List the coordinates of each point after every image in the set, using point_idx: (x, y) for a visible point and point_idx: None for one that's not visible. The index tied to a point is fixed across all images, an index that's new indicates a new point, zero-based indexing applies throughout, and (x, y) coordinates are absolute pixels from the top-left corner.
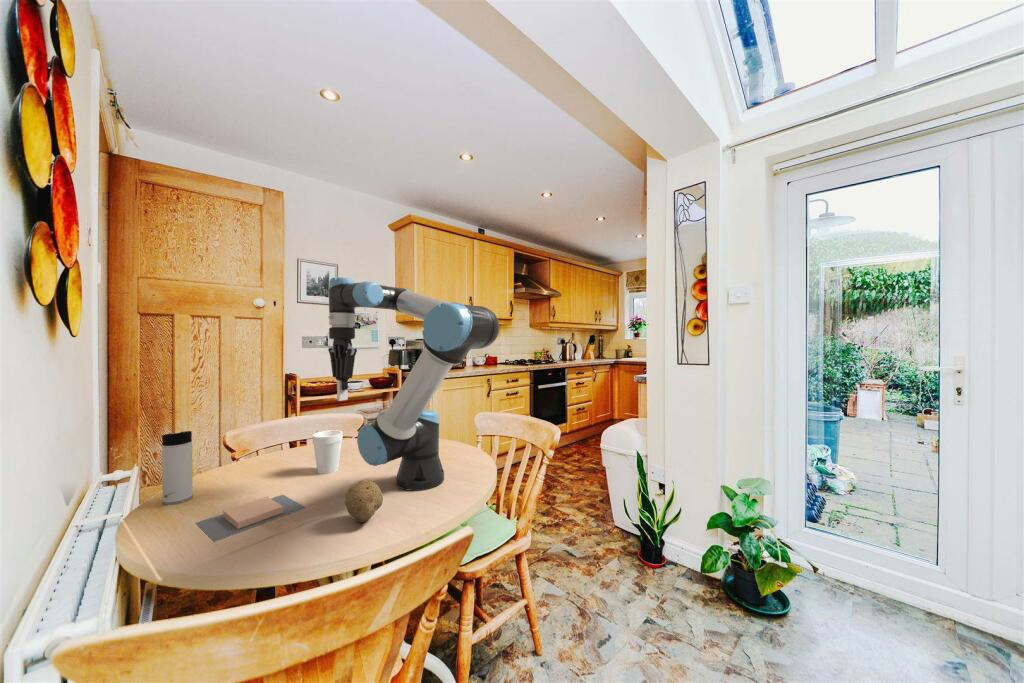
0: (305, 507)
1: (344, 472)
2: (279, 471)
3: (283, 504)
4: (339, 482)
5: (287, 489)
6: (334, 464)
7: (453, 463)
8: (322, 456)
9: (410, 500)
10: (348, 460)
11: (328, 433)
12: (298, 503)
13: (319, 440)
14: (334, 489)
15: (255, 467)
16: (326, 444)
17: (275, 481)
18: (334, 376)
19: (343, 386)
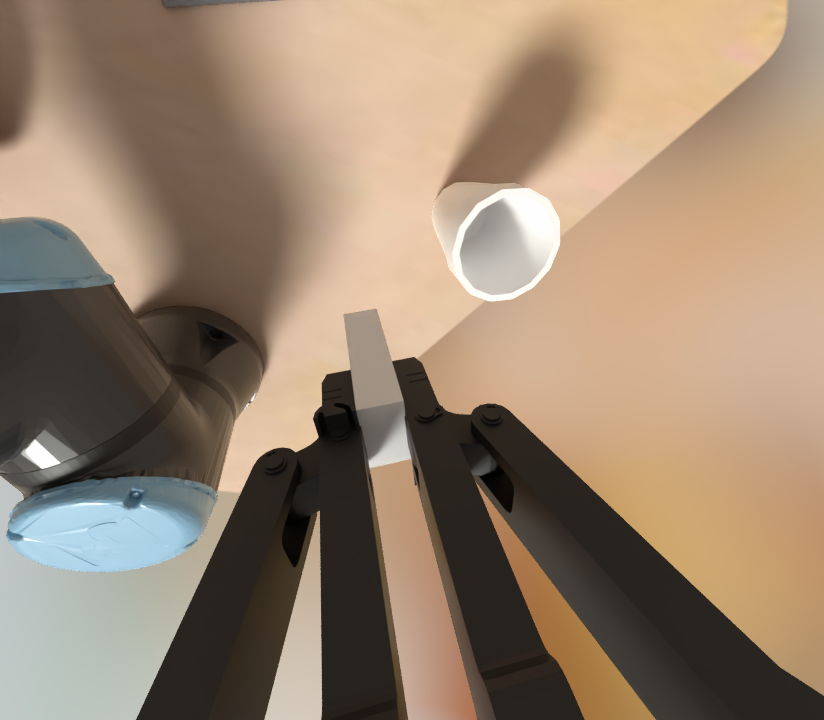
0: (167, 5)
1: (407, 243)
2: (582, 88)
3: None
4: (337, 198)
5: (399, 37)
6: (435, 227)
7: None
8: (454, 196)
9: None
10: None
11: (538, 262)
12: (224, 2)
13: (477, 198)
14: (288, 162)
15: (692, 35)
16: (454, 217)
17: (505, 35)
18: (471, 414)
19: (323, 395)
